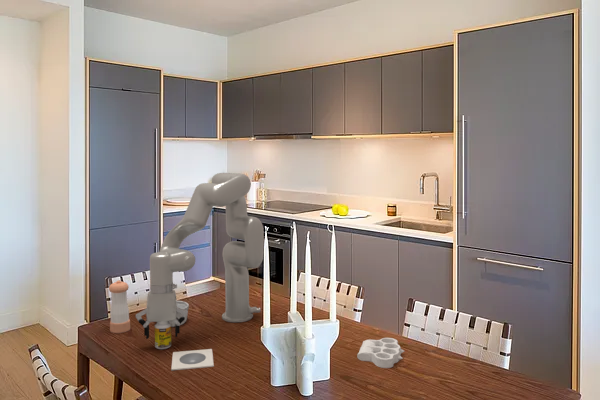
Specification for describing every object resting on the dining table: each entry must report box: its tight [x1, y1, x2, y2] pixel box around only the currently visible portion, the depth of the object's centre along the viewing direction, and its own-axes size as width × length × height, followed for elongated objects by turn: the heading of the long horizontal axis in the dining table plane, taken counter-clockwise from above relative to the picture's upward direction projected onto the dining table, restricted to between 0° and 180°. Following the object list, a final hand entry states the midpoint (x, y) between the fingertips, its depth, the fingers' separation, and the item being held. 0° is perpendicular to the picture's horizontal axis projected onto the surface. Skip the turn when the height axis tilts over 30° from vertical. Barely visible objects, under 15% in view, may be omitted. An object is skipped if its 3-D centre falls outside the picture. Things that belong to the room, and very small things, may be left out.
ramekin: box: [169, 300, 190, 328], centre depth 191 cm, size 13×13×7 cm
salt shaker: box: [108, 280, 131, 334], centre depth 182 cm, size 7×7×19 cm
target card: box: [170, 348, 215, 371], centre depth 157 cm, size 13×13×1 cm
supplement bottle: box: [154, 321, 172, 350], centre depth 167 cm, size 6×6×10 cm
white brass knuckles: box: [356, 337, 406, 369], centre depth 160 cm, size 3×18×15 cm
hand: (162, 336), depth 167 cm, fingers open, 9 cm apart
